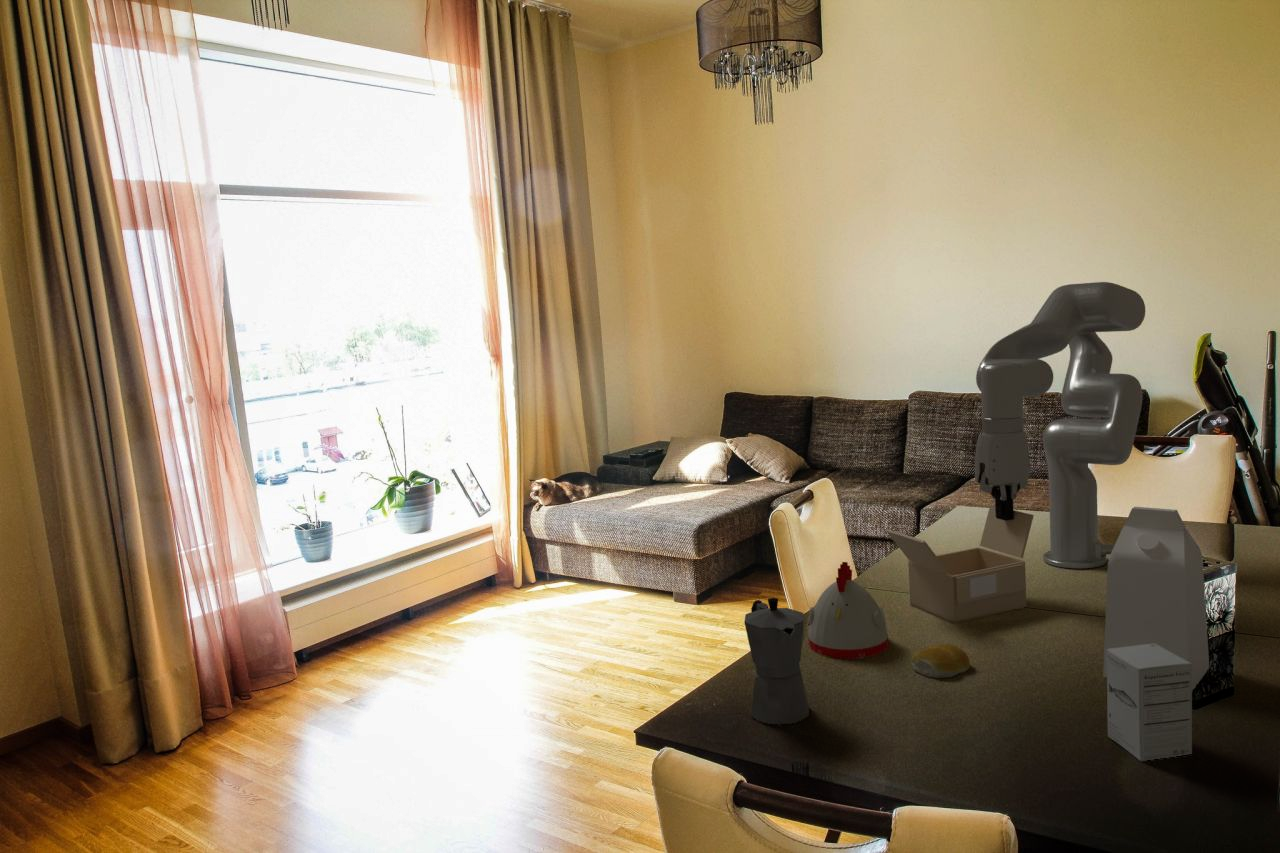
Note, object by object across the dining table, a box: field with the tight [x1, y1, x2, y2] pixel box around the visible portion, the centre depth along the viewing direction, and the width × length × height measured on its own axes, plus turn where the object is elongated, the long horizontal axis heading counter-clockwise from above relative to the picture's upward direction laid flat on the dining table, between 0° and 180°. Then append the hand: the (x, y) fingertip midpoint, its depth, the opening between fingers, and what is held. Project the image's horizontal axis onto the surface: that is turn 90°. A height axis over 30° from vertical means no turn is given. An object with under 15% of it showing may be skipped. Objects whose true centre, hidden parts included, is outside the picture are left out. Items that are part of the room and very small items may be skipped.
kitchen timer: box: [807, 561, 889, 659], centre depth 166 cm, size 14×14×15 cm
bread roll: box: [910, 643, 971, 679], centre depth 153 cm, size 8×9×4 cm
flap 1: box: [885, 528, 949, 575], centre depth 177 cm, size 1×11×9 cm
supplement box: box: [1106, 644, 1193, 762], centre depth 122 cm, size 7×7×13 cm
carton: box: [907, 546, 1027, 625], centre depth 181 cm, size 17×14×9 cm
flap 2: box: [979, 504, 1035, 560], centre depth 183 cm, size 1×11×9 cm, turn 21°
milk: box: [1102, 506, 1210, 692], centre depth 144 cm, size 12×12×26 cm
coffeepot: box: [744, 597, 810, 726], centre depth 142 cm, size 15×9×18 cm, turn 13°
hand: (1004, 518), depth 183 cm, fingers closed
